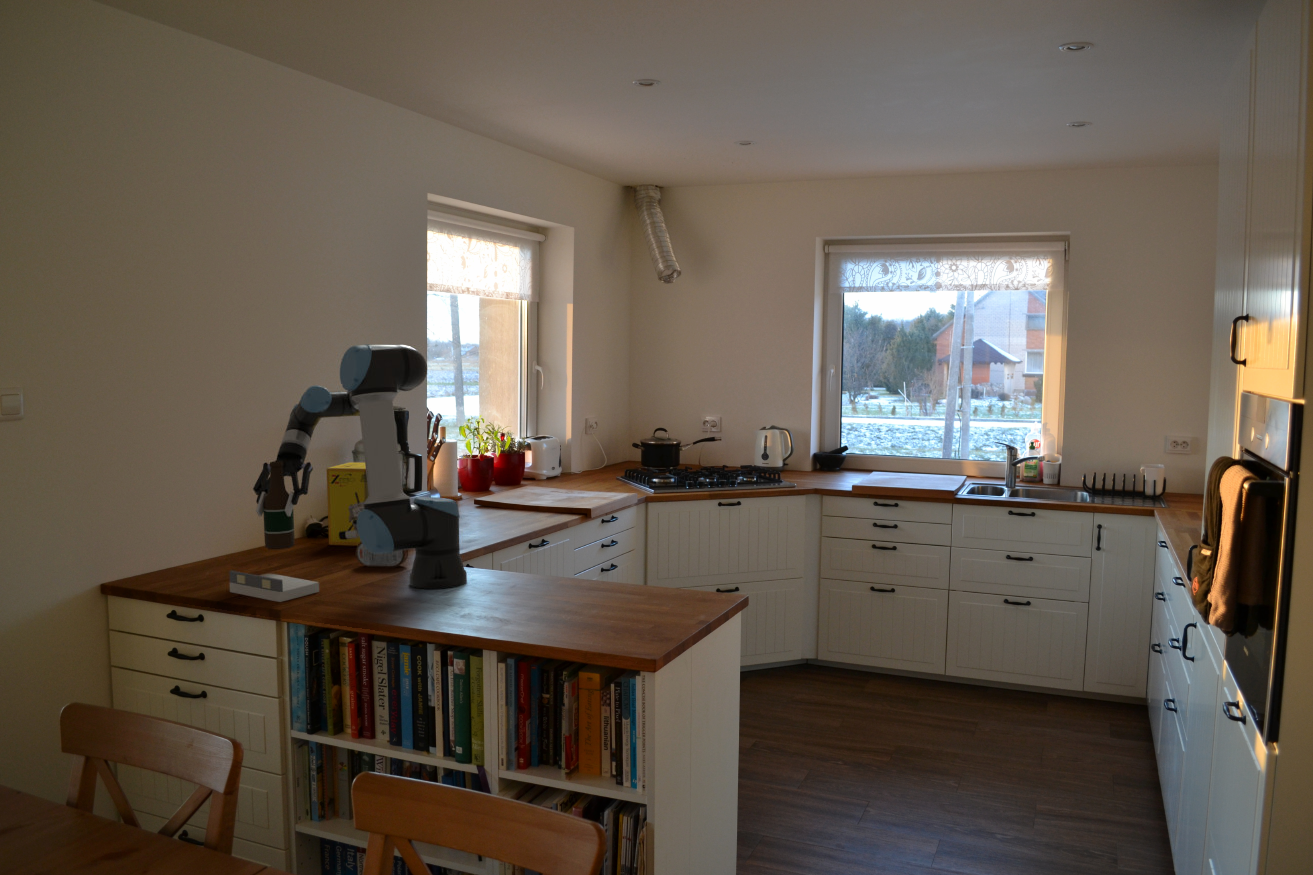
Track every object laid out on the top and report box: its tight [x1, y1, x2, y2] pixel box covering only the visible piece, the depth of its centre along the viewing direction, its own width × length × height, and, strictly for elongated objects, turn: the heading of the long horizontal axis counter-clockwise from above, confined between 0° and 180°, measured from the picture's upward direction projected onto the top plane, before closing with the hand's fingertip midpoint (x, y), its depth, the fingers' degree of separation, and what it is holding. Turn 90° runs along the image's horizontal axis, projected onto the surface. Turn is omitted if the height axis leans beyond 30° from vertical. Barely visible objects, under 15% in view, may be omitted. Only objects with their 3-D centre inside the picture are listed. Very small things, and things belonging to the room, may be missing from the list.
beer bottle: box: [263, 460, 295, 550], centre depth 269 cm, size 8×8×24 cm
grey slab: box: [228, 570, 320, 603], centre depth 251 cm, size 20×12×6 cm, turn 59°
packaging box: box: [326, 461, 369, 547], centre depth 317 cm, size 16×16×25 cm
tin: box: [355, 542, 409, 568], centre depth 280 cm, size 15×3×8 cm, turn 84°
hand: (273, 513), depth 265 cm, fingers closed on beer bottle, 7 cm apart
